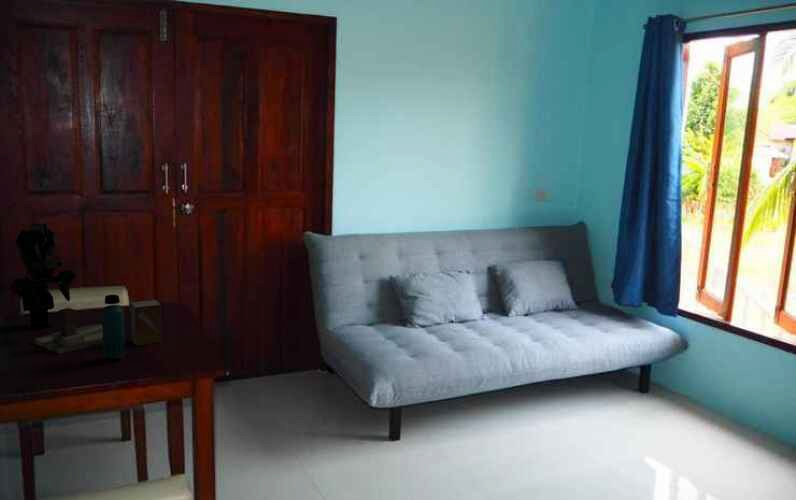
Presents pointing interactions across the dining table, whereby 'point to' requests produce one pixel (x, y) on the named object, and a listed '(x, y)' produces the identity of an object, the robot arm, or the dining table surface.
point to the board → (91, 337)
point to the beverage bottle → (113, 328)
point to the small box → (146, 322)
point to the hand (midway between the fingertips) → (55, 303)
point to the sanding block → (67, 330)
